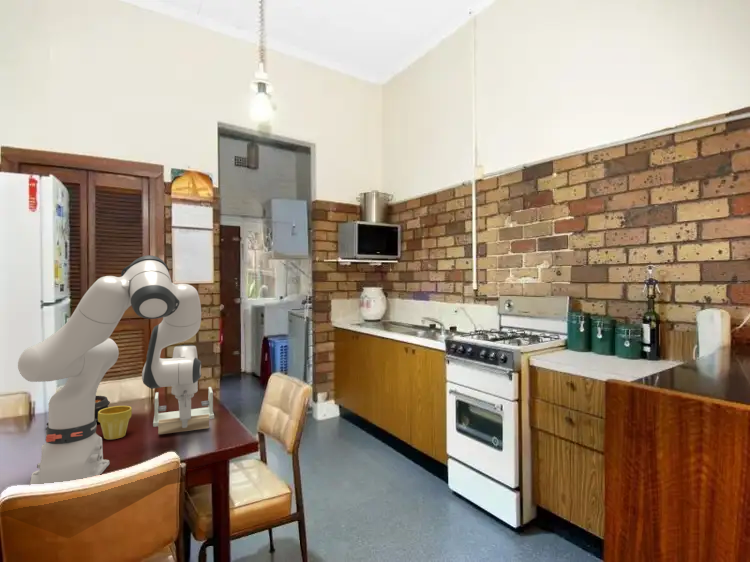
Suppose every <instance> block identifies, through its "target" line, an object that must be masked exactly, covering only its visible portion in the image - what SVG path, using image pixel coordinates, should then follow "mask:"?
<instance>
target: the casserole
mask: <svg viewBox="0 0 750 562" xmlns="http://www.w3.org/2000/svg"><path fill="white" fill-rule="evenodd" d="M110 404H111V401H110V400H109V399H108V397H107V396H105V395H96V397H95V419H96V423H97V422H98V412H99V411H100V410H102V409H105V408H108V407H109V405H110ZM46 426H48V422H46Z"/></svg>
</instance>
